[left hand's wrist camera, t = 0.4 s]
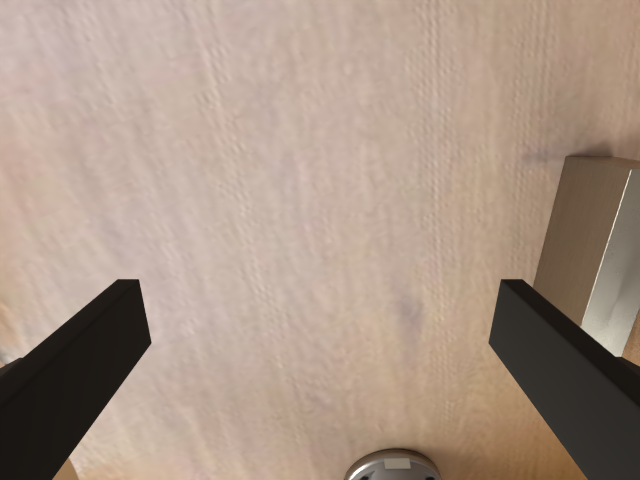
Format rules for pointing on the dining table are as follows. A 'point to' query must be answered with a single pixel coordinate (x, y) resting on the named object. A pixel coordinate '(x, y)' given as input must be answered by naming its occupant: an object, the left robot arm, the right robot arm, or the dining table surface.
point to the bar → (595, 248)
